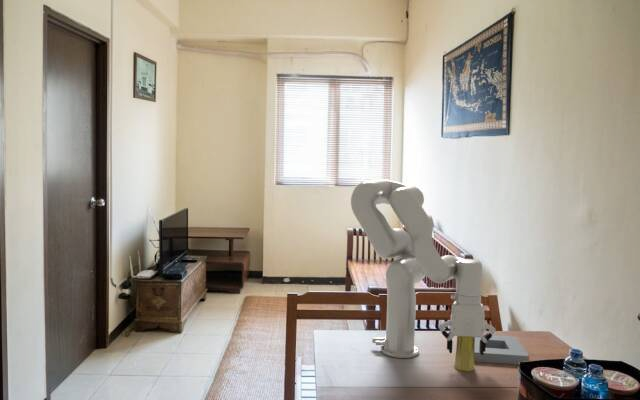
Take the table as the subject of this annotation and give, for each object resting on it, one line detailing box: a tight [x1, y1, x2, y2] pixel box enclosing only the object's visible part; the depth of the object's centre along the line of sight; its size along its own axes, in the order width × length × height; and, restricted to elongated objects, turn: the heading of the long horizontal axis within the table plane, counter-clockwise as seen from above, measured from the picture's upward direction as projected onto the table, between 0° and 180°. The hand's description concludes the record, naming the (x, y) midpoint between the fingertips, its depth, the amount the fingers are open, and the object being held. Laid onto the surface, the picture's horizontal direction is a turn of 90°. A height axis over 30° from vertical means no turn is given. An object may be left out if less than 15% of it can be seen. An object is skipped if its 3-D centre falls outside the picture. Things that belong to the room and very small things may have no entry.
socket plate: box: [474, 334, 530, 365], centre depth 187 cm, size 18×18×3 cm
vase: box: [454, 336, 475, 372], centre depth 173 cm, size 6×6×14 cm
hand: (465, 352), depth 173 cm, fingers open, 9 cm apart
